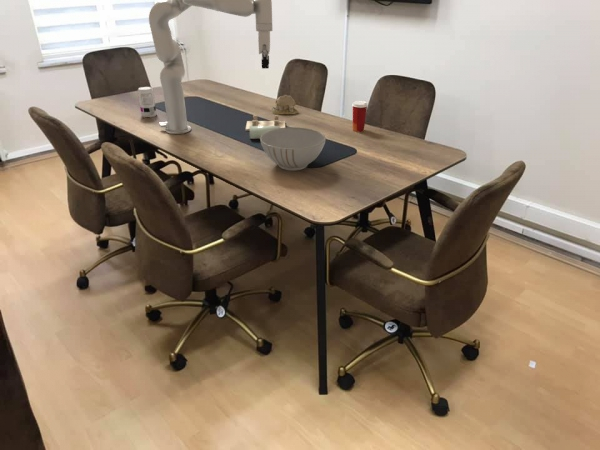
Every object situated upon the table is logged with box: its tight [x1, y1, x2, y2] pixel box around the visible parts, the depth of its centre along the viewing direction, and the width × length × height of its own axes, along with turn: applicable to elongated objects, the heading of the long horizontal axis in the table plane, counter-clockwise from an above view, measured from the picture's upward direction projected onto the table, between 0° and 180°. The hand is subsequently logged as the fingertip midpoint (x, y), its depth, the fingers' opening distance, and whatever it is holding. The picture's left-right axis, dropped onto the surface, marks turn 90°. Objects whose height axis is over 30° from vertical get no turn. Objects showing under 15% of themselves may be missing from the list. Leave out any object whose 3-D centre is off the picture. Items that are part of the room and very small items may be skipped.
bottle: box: [248, 126, 279, 140], centre depth 223 cm, size 20×6×6 cm, turn 92°
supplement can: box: [137, 86, 158, 118], centre depth 253 cm, size 8×8×15 cm
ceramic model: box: [271, 94, 299, 115], centre depth 261 cm, size 14×11×10 cm
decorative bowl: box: [259, 126, 326, 171], centre depth 193 cm, size 27×27×12 cm
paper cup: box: [351, 100, 369, 133], centre depth 232 cm, size 8×8×14 cm
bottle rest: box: [245, 114, 286, 132], centre depth 239 cm, size 20×13×4 cm, turn 92°
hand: (265, 66), depth 220 cm, fingers open, 9 cm apart
